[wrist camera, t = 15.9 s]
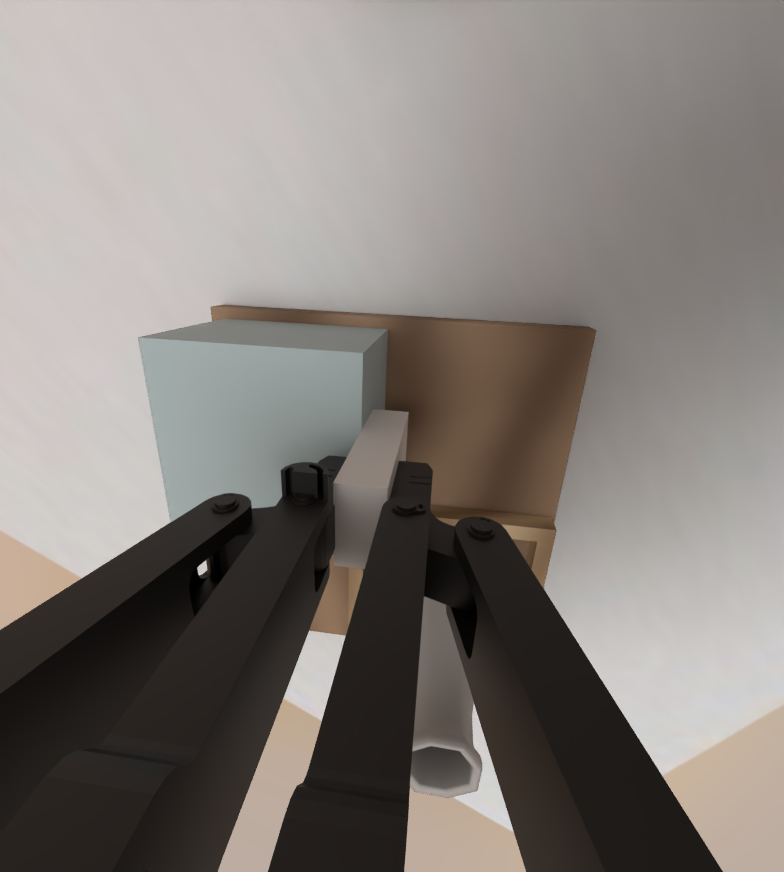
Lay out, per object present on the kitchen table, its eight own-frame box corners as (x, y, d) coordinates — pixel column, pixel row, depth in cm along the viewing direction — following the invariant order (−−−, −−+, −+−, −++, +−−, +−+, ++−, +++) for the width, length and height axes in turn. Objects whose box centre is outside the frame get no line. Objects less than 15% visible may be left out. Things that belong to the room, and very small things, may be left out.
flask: (494, 523, 23) (524, 695, 14) (515, 625, 25) (553, 831, 16) (367, 542, 24) (317, 708, 15) (398, 637, 27) (371, 831, 17)
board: (588, 326, 20) (621, 340, 16) (519, 647, 27) (531, 710, 23) (222, 304, 22) (173, 312, 18) (253, 611, 29) (223, 663, 25)
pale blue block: (388, 328, 20) (362, 353, 14) (381, 481, 23) (359, 552, 17) (225, 318, 20) (137, 337, 15) (239, 466, 23) (172, 530, 18)
